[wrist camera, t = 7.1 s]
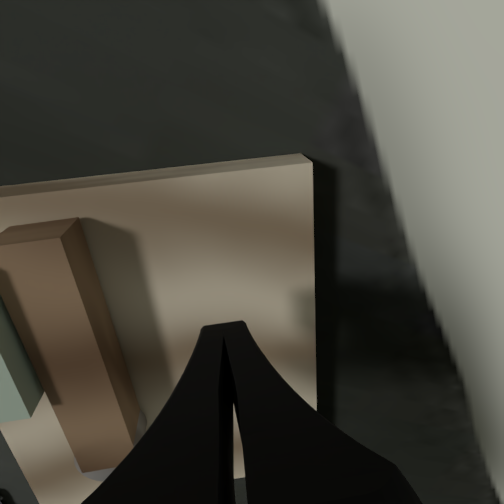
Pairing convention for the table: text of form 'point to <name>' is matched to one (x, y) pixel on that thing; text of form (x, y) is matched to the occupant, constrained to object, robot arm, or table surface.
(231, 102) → the table surface
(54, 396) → the stool leg
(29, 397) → the block
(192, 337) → the stool seat
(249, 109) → the table surface
